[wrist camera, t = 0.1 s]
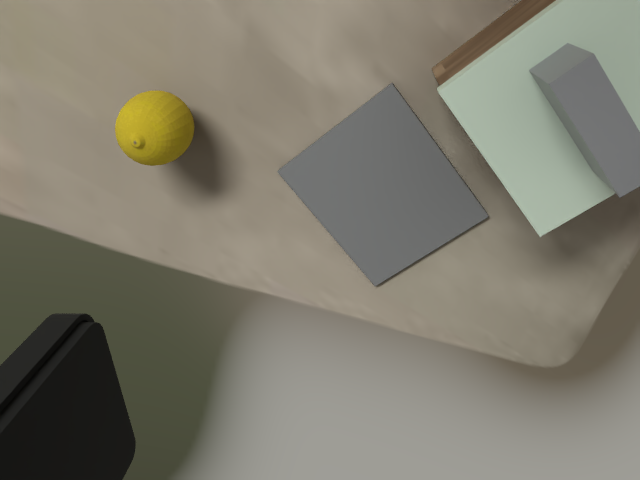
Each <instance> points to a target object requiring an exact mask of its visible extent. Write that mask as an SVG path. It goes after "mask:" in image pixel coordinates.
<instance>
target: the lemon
mask: <svg viewBox="0 0 640 480" xmlns="http://www.w3.org/2000/svg"><path fill="white" fill-rule="evenodd" d="M115 132H116V138H117V141H118V144H119V146H120V147H121V149H122V150H123V152H124V153H125V154H126V155H127V156H128V157H130V158H131V159H133V160H134V161H136V162H138V163H141V164H144V165H151V166H154V165H163V164H166V163H169V162H171V161H174V160H176V159H177V158H178V157H179V156H181V155H182V154H183V153H184V152H185V151H186V149H187V148H188V147H189V145H190V144H191V141H192V138H193V135H194V121H193V116H192V114H191V112H190V110H189V108H188V107H187V105H186V104H185V103H184V102H183V101H182V100H181V99H180V98H178V97H177V96H175V95H173V94H171V93H168V92H164V91H148V92H144V93H140V94H138V95H136V96H135V97H133V98H132V99H130V100H129V101H128V102H127V103H126V104H125V105H124V107H123V108H122V109H121V111H120V113H119V115H118V117H117V120H116V126H115Z"/></svg>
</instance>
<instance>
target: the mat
mask: <svg viewBox="0 0 640 480" xmlns="http://www.w3.org/2000/svg"><path fill="white" fill-rule="evenodd" d="M278 173H279V174H280V175H281V177H282V178H283V179H284V180H285V181H286V182H287V184H288V185H289V186H290V187H291V188H292V190H293V191H294V192H295V193H296V194H297V195H298V197H299V198H300V199H301V200H302V201H303V202H304V204H305V205H306V206H307V207H308V208H309V209H310V211H311V212H312V213H313V214H314V215H315V216H316V218H317V219H318V220H319V221H320V222H321V224H322V225H323V226H324V227H325V228H326V229H327V231H328V232H329V233H330V234H331V235H332V236H333V238H334V239H335V240H336V241H337V242H338V243H339V245H340V246H341V247H342V248H343V249H344V251H345V252H346V253H347V254H348V255H349V256H350V258H351V259H352V260H353V261H354V262H355V263H356V265H357V266H358V267H359V268H360V269H361V270H362V272H363V273H364V274H365V275H366V276H367V277H368V279H369V280H370V281H371V282H372V283H373V285H374V286H376V285H378V284H380V283H381V282H383V281H385V280H386V279H388V278H389V277H391V276H393V275H394V274H396V273H398V272H399V271H401V270H402V269H404V268H406V267H407V266H409V265H411V264H412V263H414V262H415V261H417V260H419V259H420V258H422V257H424V256H425V255H427V254H429V253H430V252H432V251H433V250H435V249H437V248H438V247H440V246H442V245H443V244H445V243H446V242H448V241H450V240H451V239H453V238H455V237H456V236H458V235H459V234H461V233H463V232H464V231H466V230H468V229H469V228H471V227H472V226H474V225H476V224H477V223H479V222H481V221H482V220H484V219H486V218H487V217H489V216H488V214H487V212H486V211H485V209H484V208H483V207H482V205H481V204H480V203H479V201H478V200H477V199H476V197H475V196H474V194H473V193H472V192H471V190H470V189H469V188H468V186H467V185H466V183H465V182H464V181H463V179H462V178H461V177H460V175H459V174H458V172H457V171H456V170H455V168H454V167H453V166H452V164H451V163H450V161H449V160H448V159H447V157H446V156H445V155H444V153H443V152H442V150H441V149H440V148H439V146H438V145H437V144H436V142H435V141H434V139H433V138H432V137H431V135H430V134H429V133H428V131H427V130H426V128H425V127H424V126H423V124H422V123H421V122H420V120H419V119H418V118H417V116H416V115H415V113H414V112H413V111H412V109H411V108H410V107H409V105H408V104H407V102H406V101H405V100H404V98H403V97H402V96H401V94H400V93H399V91H398V90H397V89H396V87H395V86H394V85H393V83H391V84H390V85H388V86H387V87H386V88H384V89H383V90H382V91H381V92H379V93H378V94H377V95H375V96H374V97H373V98H371V99H370V100H369V101H368V102H366V103H365V104H364V105H362V106H361V107H360V108H358V109H357V110H356V111H355V112H353V113H352V114H351V115H349V116H348V117H347V118H345V119H344V120H343V121H342V122H340V123H339V124H338V125H336V126H335V127H334V128H332V129H331V130H330V131H329V132H327V133H326V134H325V135H323V136H322V137H321V138H319V139H318V140H317V141H316V142H314V143H313V144H312V145H310V146H309V147H308V148H306V149H305V150H304V151H303V152H301V153H300V154H299V155H297V156H296V157H295V158H293V159H292V160H291V161H290V162H288V163H287V164H286V165H284V166H283V167H282V168H280V169H279V170H278Z"/></svg>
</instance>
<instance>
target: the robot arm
mask: <svg viewBox="0 0 640 480" xmlns="http://www.w3.org/2000/svg"><path fill="white" fill-rule="evenodd" d="M134 453H135V437H134V433H133V430H132V426H131V423H130V419H129V416H128V412H127V409H126V406H125V402H124V399H123V395H122V392H121V388H120V385H119V381H118V378H117V374H116V371H115V368H114V364H113V361H112V357H111V354H110V351H109V347H108V343H107V340H106V336H105V333H104V330H103V327H102V326H101V325H100V324H99V323H96V322H94V320H93V319H92V317H90V315H88V314H52V315H50V316H49V317H48V318H46V320H45V321H44V322H43V323H42V324H41V325H40V326H39V327H38V328H37V329H36V330H35V331H34V332H33V333H32V334H31V335H30V336H29V337H28V338H27V339H26V340H25V341H24V342H23V343H22V344H21V345H20V346H19V347H18V348H17V349H16V350H15V351H14V352H13V353H12V354H11V355H10V356H9V357H8V358H7V359H6V360H5V361H4V362H3V364H1V366H0V480H122V479H123V477H124V475H125V474H126V472H127V469H128V468H129V466H130V464H131V462H132V460H133V457H134Z"/></svg>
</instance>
